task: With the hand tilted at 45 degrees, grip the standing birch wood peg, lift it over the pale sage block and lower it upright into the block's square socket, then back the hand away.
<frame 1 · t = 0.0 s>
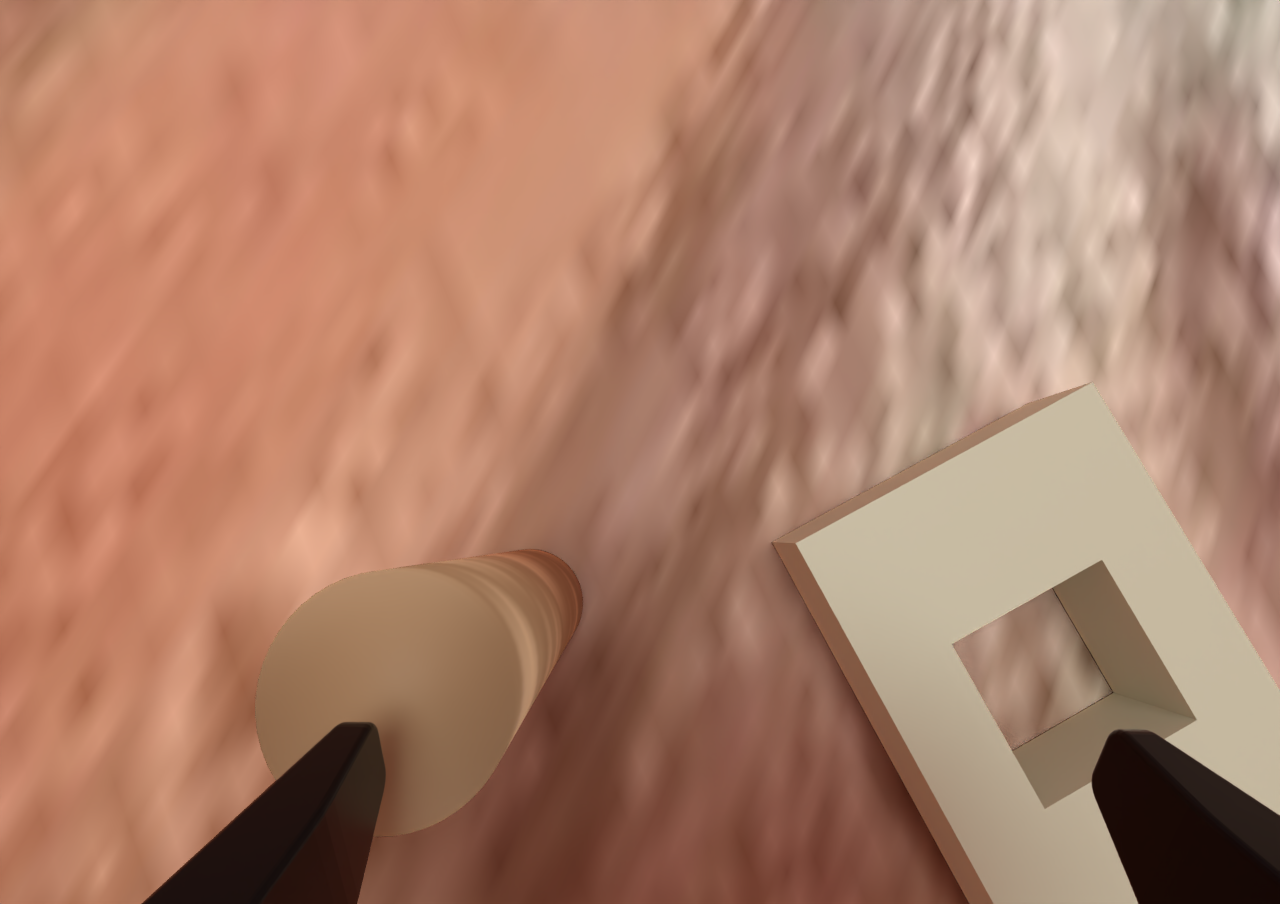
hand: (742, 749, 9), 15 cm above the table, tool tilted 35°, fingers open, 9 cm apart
socket block: (1008, 660, 24), on the table
peg: (529, 603, 24), on the table
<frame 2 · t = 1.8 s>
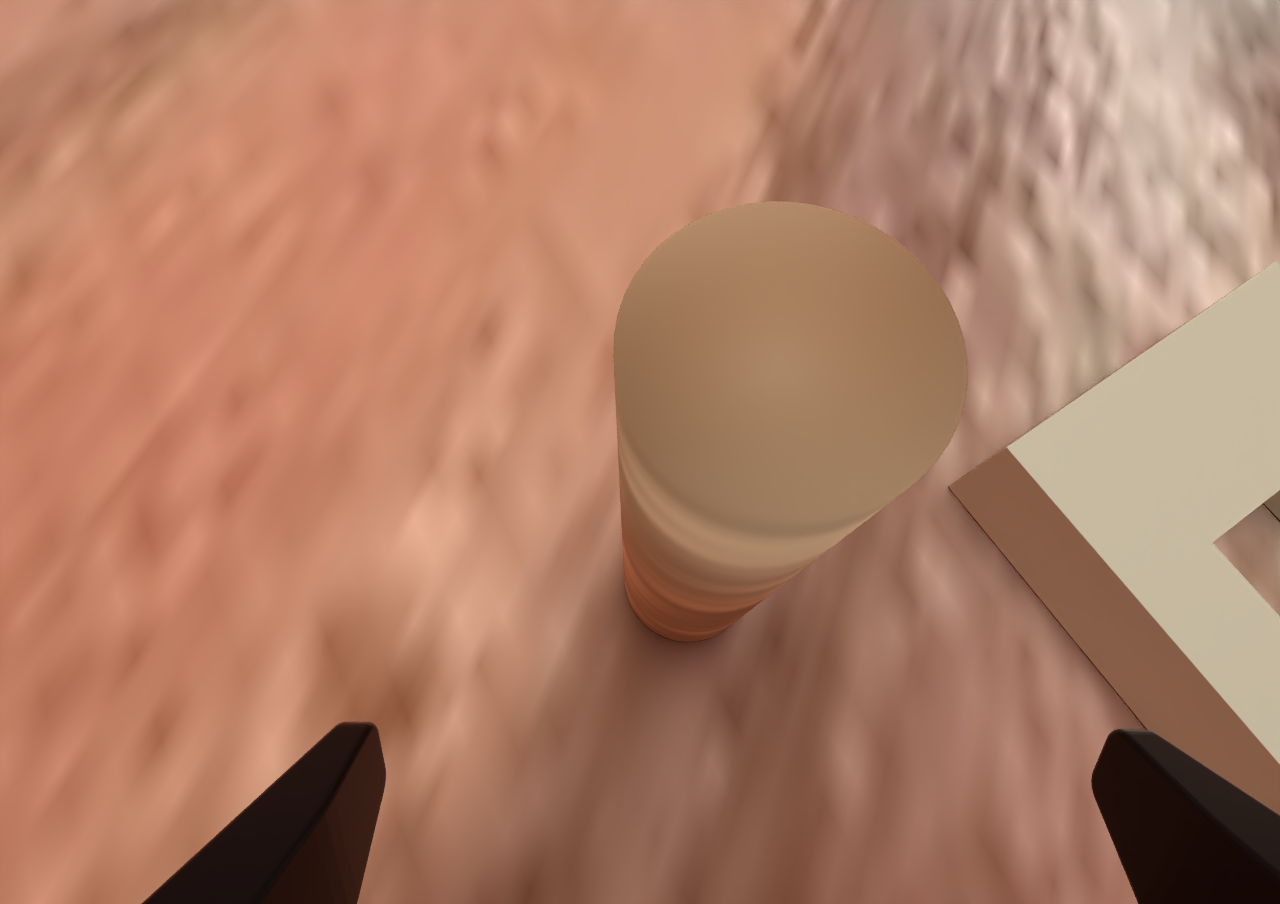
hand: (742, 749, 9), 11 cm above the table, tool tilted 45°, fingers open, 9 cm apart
socket block: (1246, 594, 20), on the table
peg: (686, 577, 20), on the table
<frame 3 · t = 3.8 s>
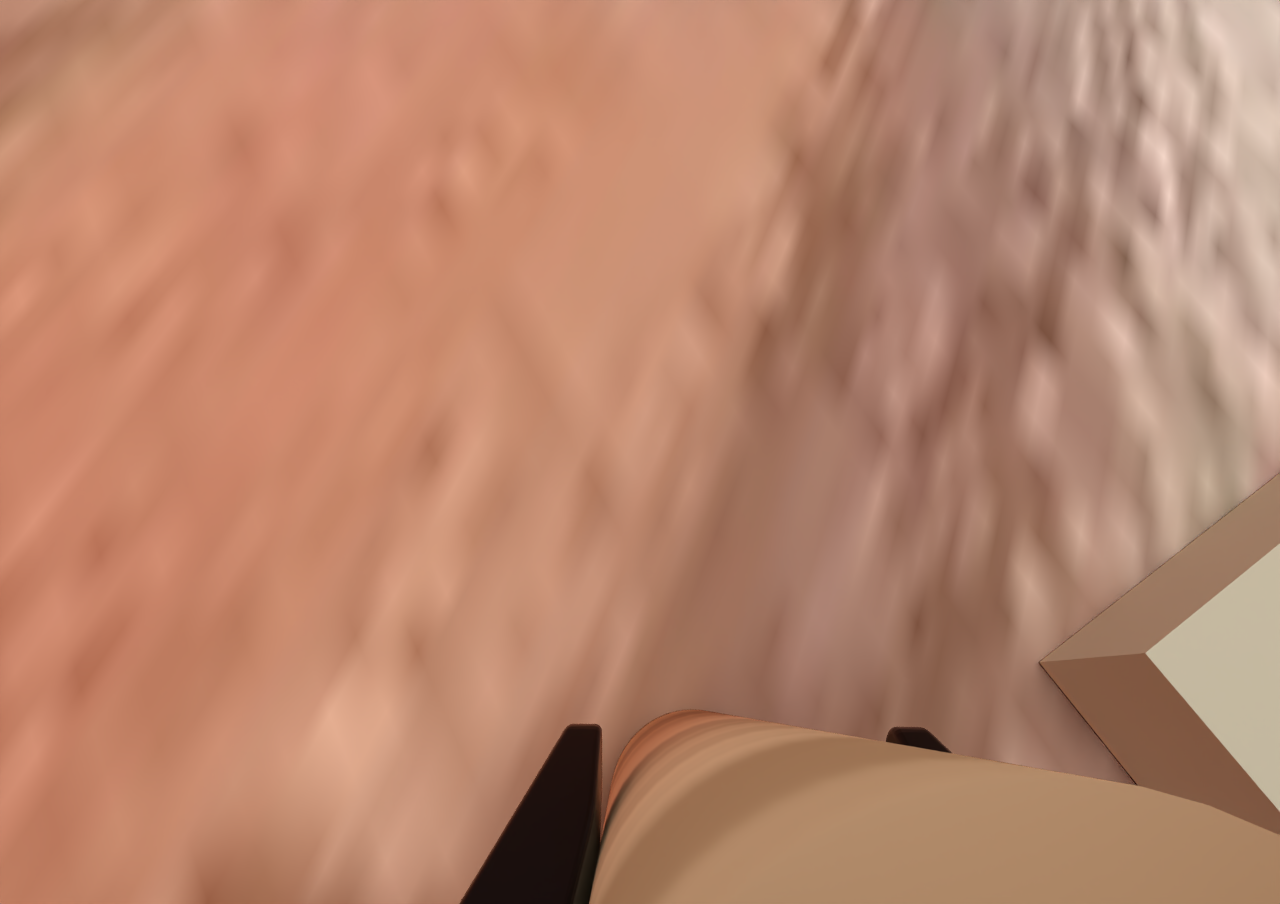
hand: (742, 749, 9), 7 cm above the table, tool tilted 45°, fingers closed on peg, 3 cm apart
peg: (693, 798, 15), on the table, touching gripper
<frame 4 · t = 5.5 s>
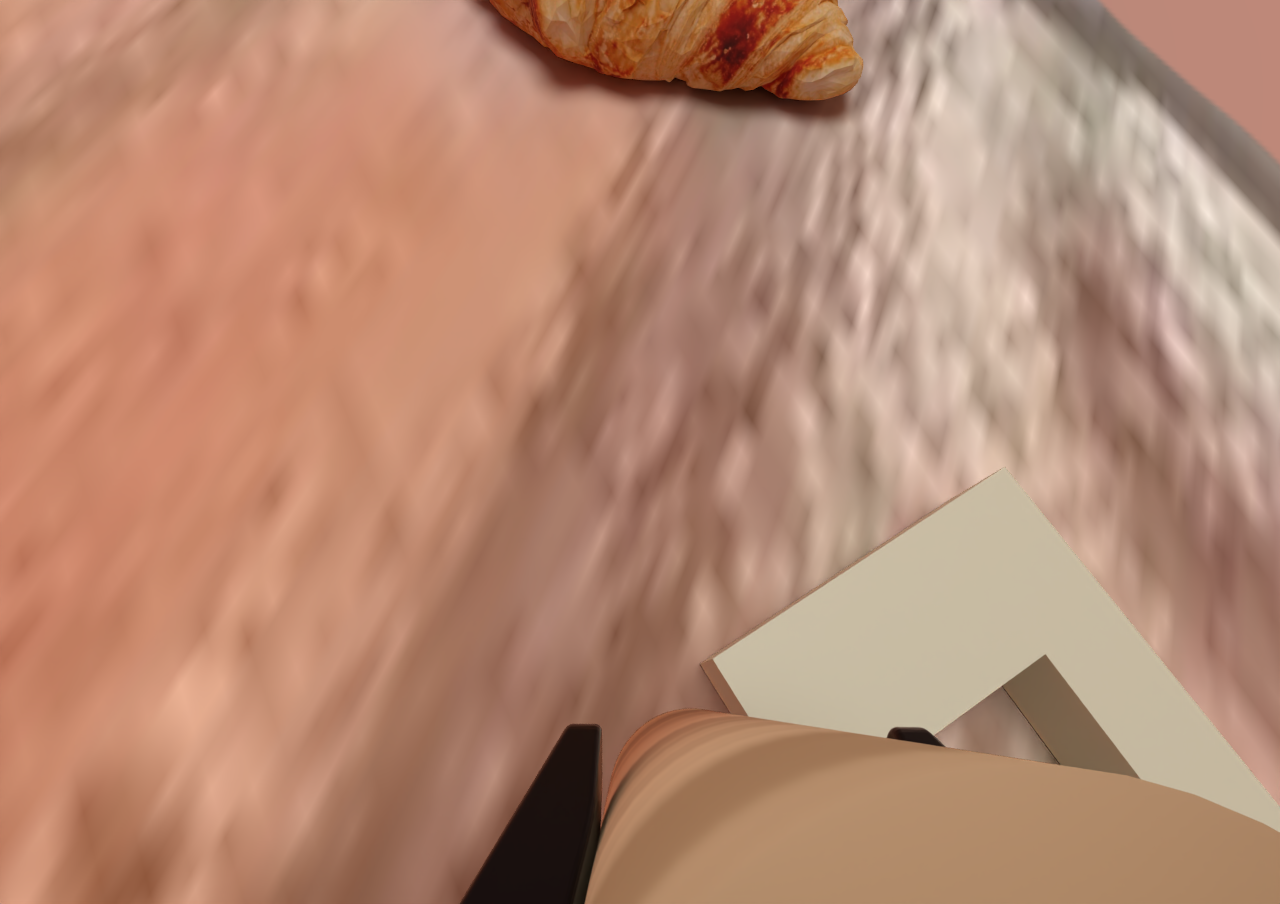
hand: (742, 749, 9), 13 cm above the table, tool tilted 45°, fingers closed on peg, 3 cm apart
socket block: (973, 781, 21), on the table
peg: (692, 796, 15), point 6 cm above the table, touching gripper
croissant: (620, 15, 31), on the table
when the fingers open (8 cm above the table, at t = 7.7 s): peg stays where it is, resting in socket block.
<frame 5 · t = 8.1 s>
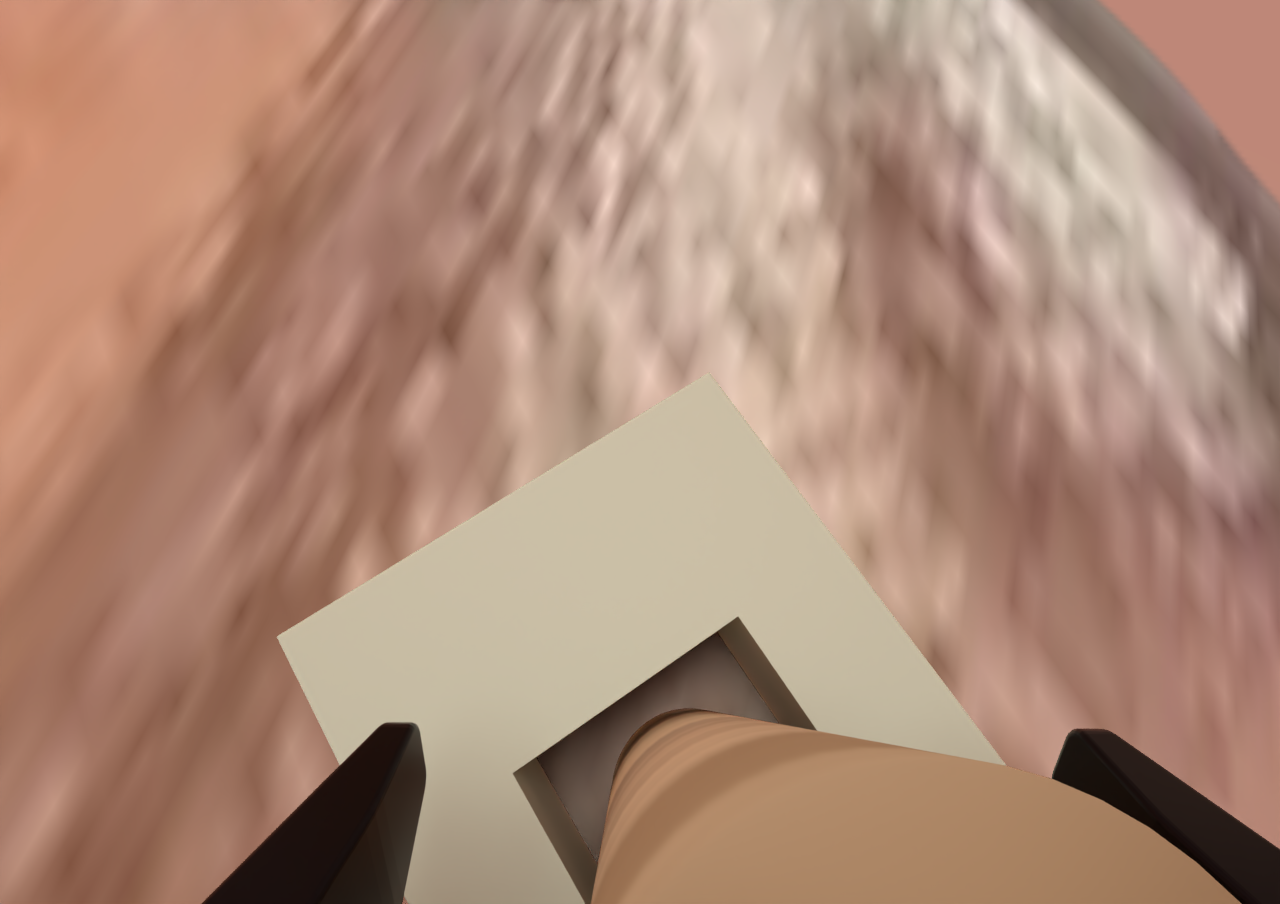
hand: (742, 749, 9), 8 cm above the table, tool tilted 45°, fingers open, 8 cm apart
socket block: (690, 791, 16), on the table
peg: (690, 791, 16), resting in socket block
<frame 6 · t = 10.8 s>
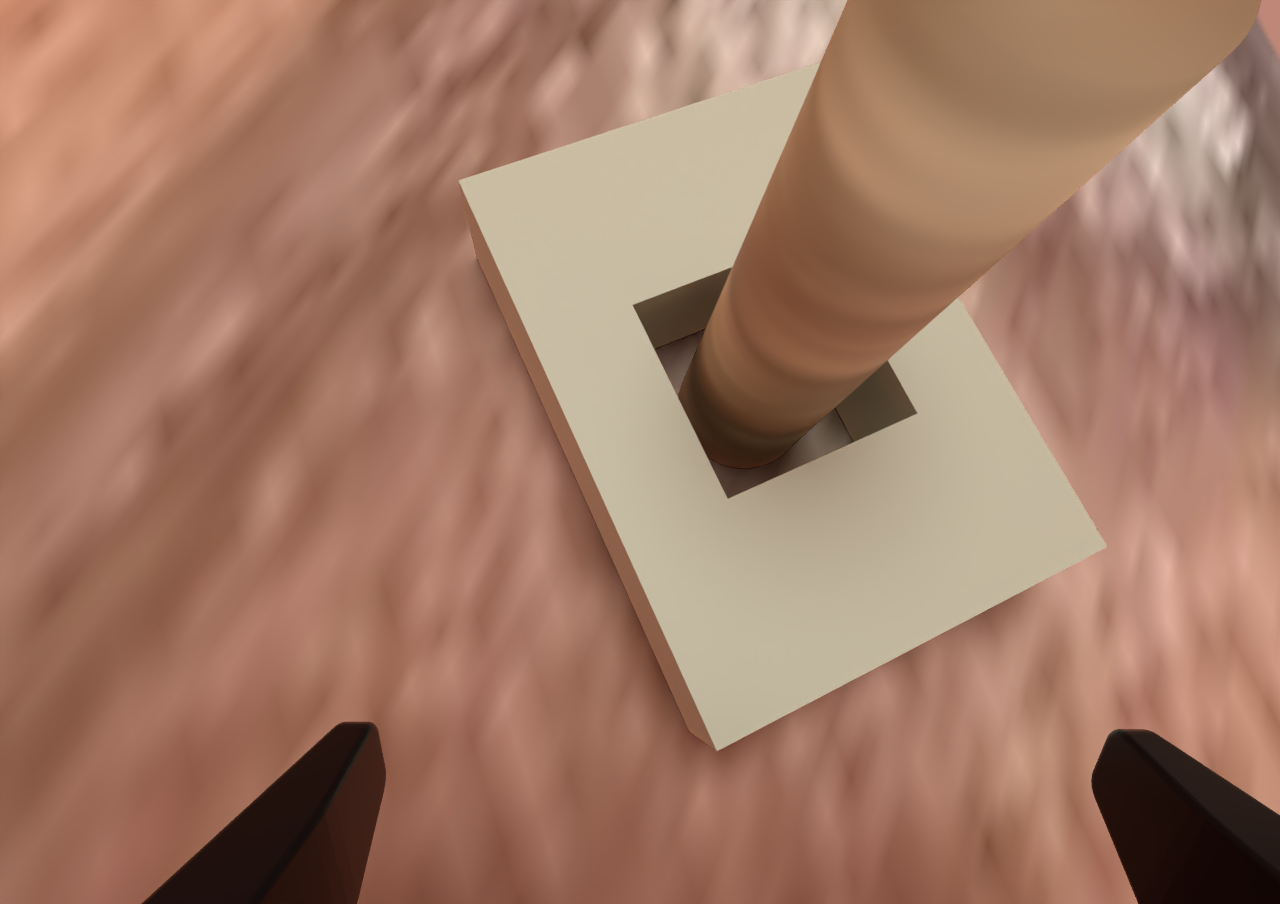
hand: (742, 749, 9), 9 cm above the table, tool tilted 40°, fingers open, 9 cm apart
socket block: (740, 407, 20), on the table
peg: (740, 407, 20), resting in socket block
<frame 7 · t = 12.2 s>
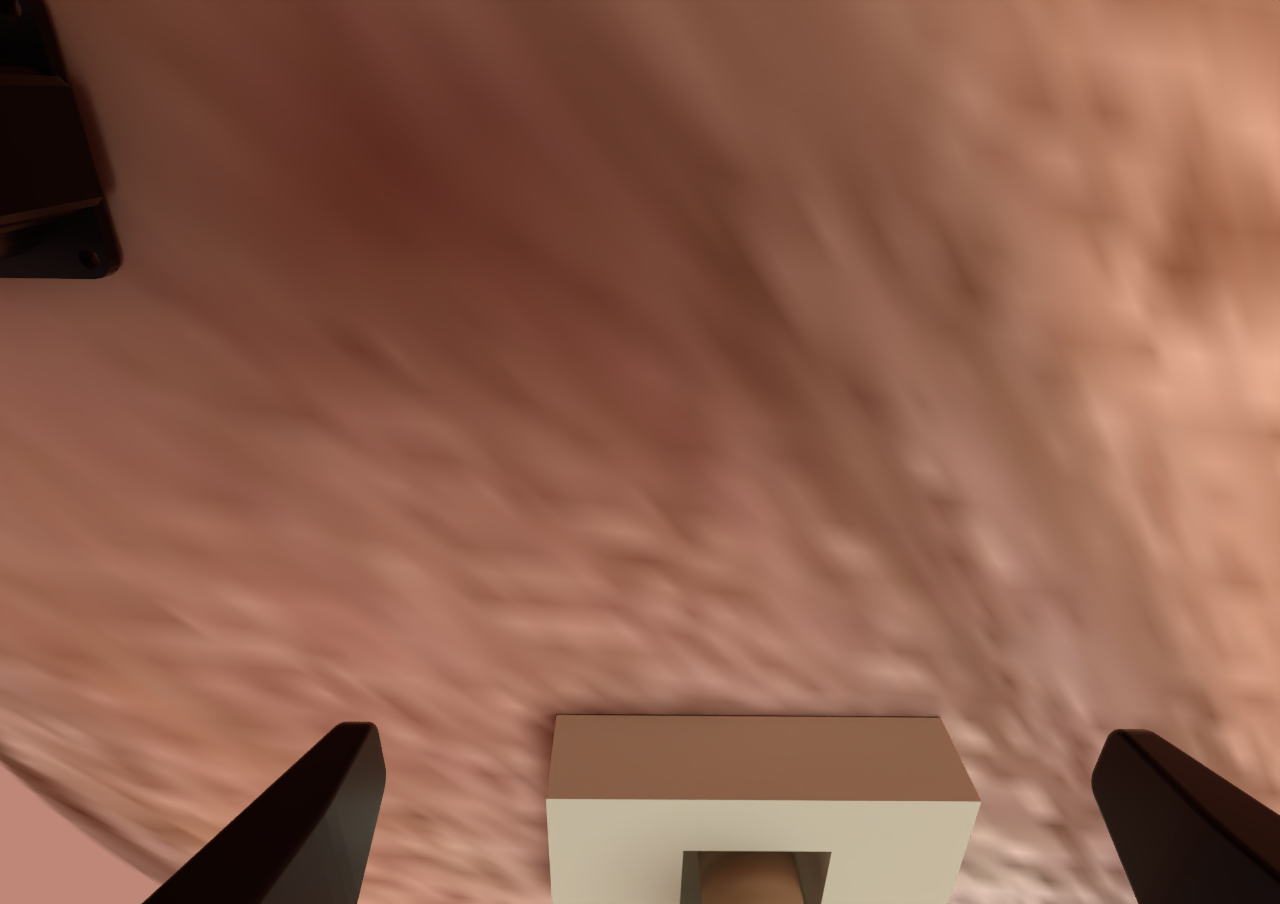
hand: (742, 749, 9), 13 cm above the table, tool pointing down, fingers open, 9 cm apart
socket block: (738, 809, 29), on the table
peg: (738, 809, 29), resting in socket block
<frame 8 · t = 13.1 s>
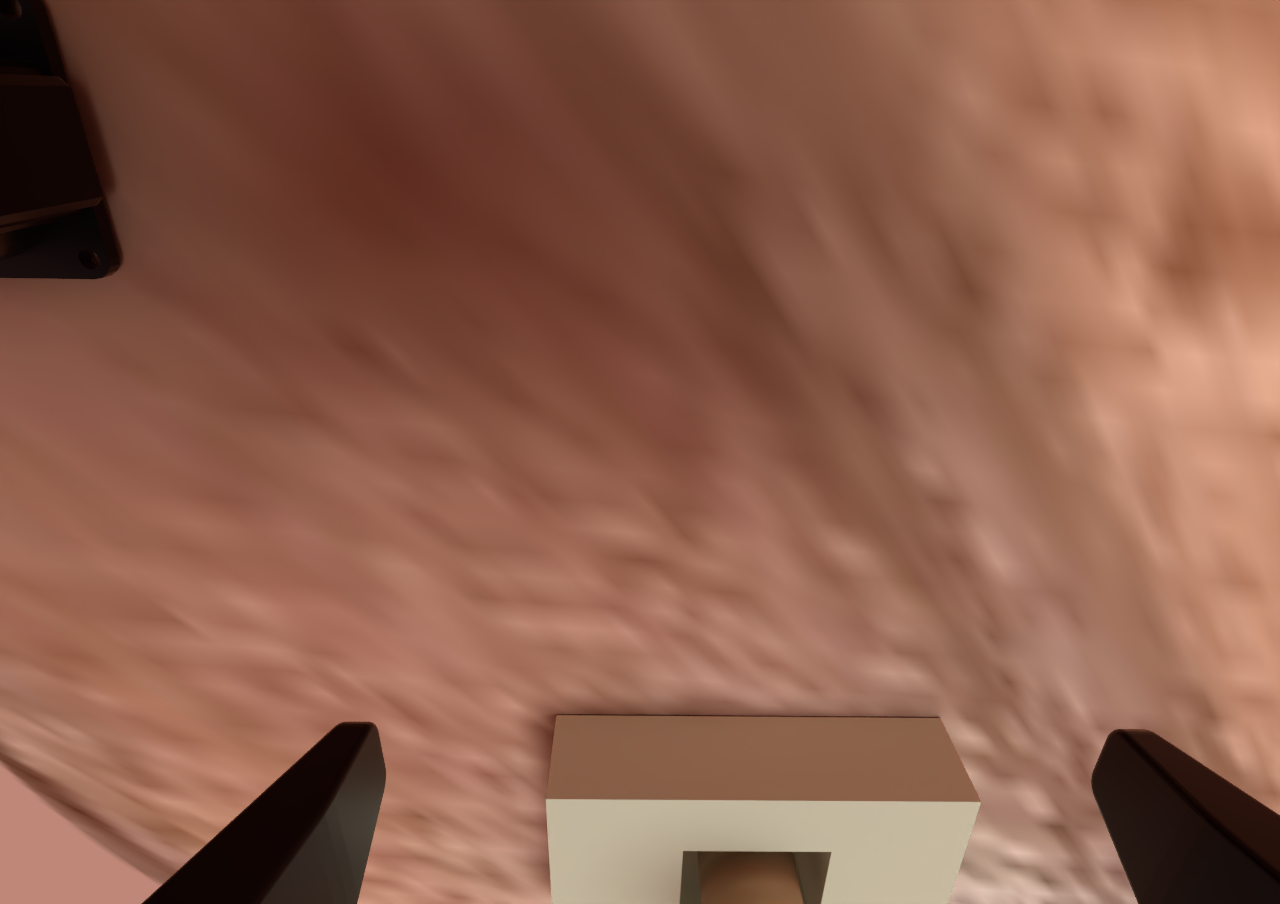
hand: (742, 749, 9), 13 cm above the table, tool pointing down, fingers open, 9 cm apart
socket block: (738, 809, 29), on the table
peg: (738, 809, 29), resting in socket block
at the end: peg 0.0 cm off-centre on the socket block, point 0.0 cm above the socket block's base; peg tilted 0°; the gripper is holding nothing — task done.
